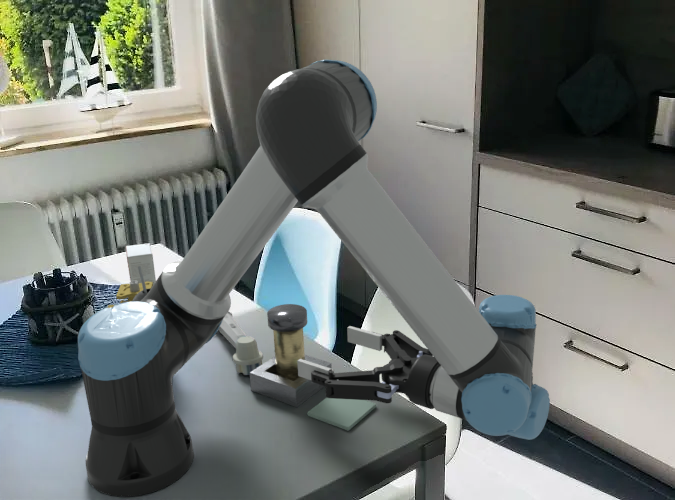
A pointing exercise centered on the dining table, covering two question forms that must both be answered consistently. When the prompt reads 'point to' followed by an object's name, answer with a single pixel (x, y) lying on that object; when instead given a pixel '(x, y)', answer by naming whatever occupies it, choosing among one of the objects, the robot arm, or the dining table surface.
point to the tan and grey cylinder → (288, 337)
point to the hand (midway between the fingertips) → (324, 349)
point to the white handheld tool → (241, 346)
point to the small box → (140, 262)
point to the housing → (284, 383)
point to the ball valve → (130, 291)
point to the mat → (341, 411)
